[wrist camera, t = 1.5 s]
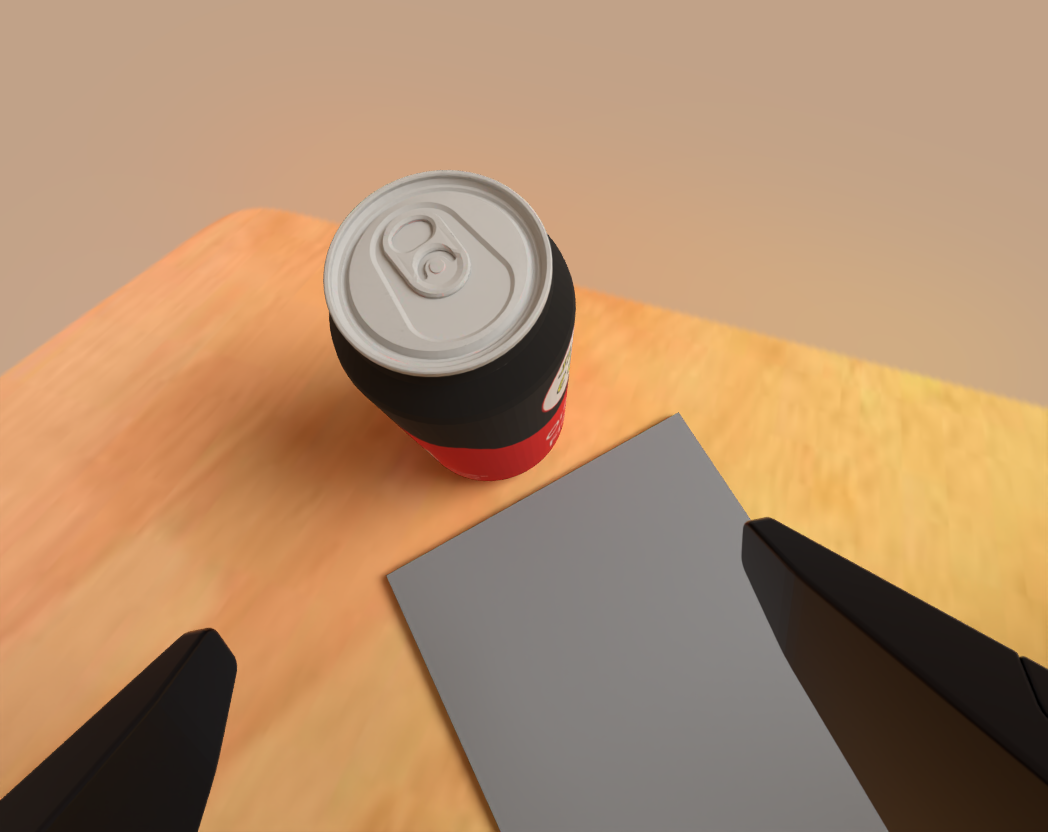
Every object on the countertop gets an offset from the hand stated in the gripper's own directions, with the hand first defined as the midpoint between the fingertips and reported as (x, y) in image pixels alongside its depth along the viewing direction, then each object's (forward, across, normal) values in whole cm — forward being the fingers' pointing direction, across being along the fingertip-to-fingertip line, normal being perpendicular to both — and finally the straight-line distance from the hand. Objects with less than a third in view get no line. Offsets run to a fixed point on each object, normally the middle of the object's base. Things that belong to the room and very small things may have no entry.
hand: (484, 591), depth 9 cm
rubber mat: (+4, -4, +14) cm, 15 cm away
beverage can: (+14, 0, +4) cm, 15 cm away
